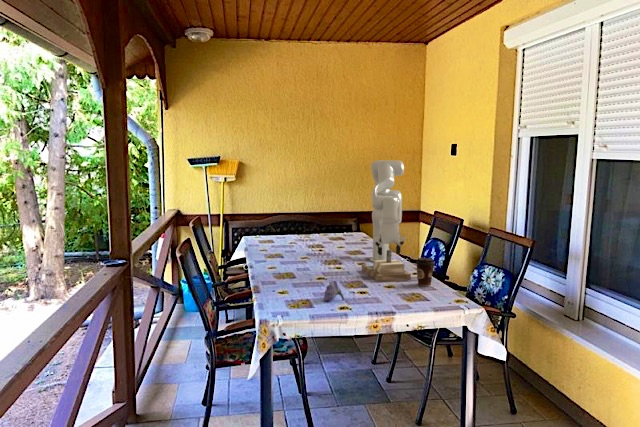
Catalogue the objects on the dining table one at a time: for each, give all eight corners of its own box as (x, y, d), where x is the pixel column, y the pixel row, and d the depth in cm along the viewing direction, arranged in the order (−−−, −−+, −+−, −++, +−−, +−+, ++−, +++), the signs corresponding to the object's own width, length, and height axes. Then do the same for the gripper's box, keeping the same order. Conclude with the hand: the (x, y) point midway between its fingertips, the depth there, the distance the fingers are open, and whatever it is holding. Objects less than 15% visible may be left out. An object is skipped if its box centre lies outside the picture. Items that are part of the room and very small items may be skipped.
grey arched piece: (348, 282, 213) (328, 274, 210) (349, 295, 206) (329, 286, 203) (337, 297, 217) (317, 289, 214) (338, 310, 209) (318, 301, 207)
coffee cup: (419, 287, 231) (420, 261, 229) (412, 283, 239) (412, 257, 237) (436, 286, 233) (437, 260, 232) (428, 282, 241) (429, 256, 240)
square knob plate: (373, 273, 255) (373, 248, 254) (394, 272, 258) (395, 248, 257) (381, 278, 244) (382, 253, 242) (403, 277, 247) (404, 252, 245)
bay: (361, 270, 266) (361, 264, 266) (390, 269, 270) (390, 263, 270) (378, 282, 241) (378, 275, 240) (410, 280, 245) (410, 274, 245)
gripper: (402, 220, 254) (401, 252, 255) (371, 220, 249) (370, 253, 251) (408, 221, 246) (407, 255, 248) (376, 222, 242) (375, 256, 244)
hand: (389, 254), depth 249 cm, fingers open, 9 cm apart
